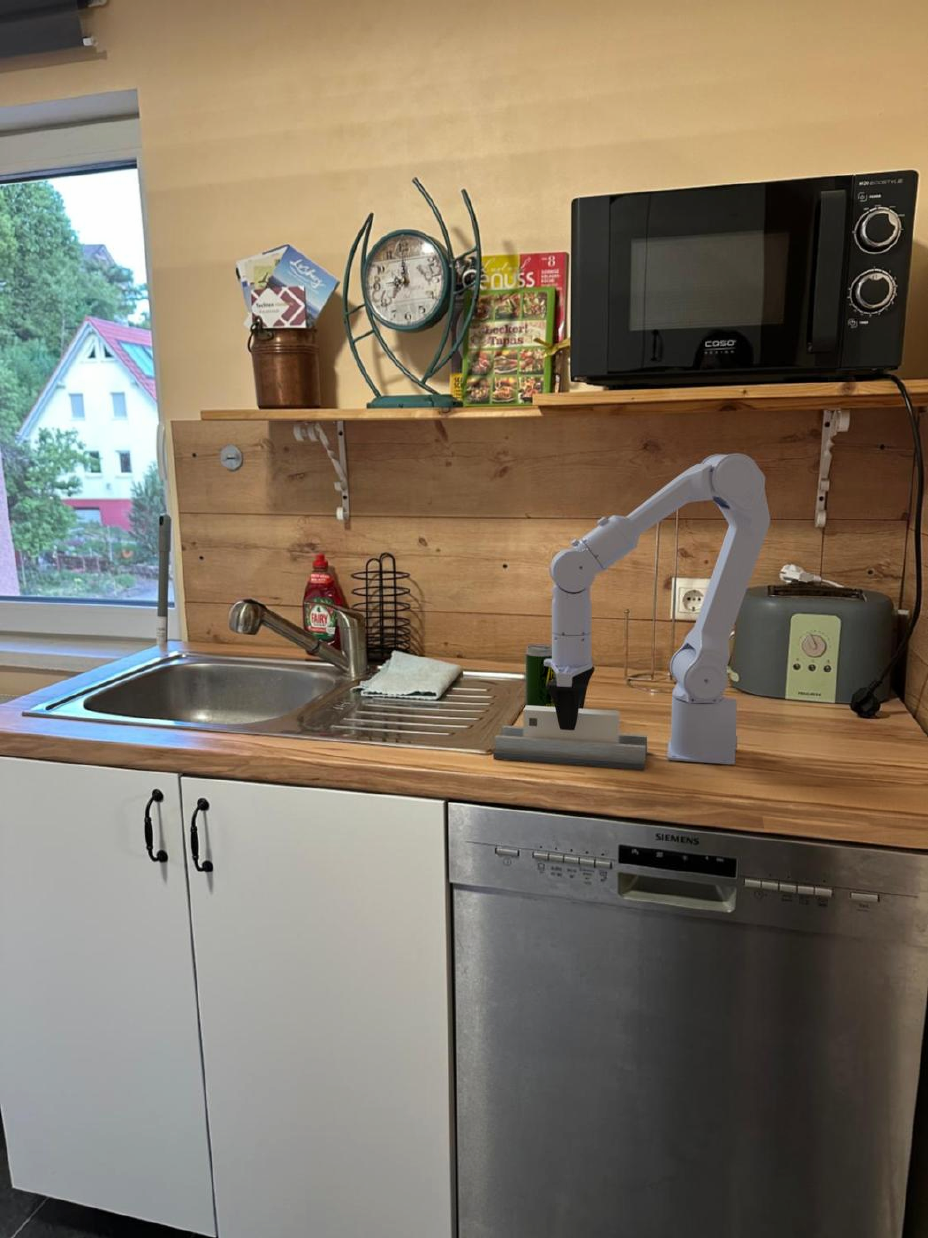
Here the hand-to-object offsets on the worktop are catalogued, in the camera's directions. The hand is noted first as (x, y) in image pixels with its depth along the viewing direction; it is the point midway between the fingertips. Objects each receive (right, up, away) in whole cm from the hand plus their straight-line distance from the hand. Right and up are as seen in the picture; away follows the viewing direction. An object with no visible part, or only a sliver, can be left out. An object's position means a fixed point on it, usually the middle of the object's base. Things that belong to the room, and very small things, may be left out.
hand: (571, 721), depth 124 cm
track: (0, -5, +1) cm, 5 cm away
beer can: (-2, -2, +22) cm, 22 cm away
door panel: (0, -4, +1) cm, 4 cm away
